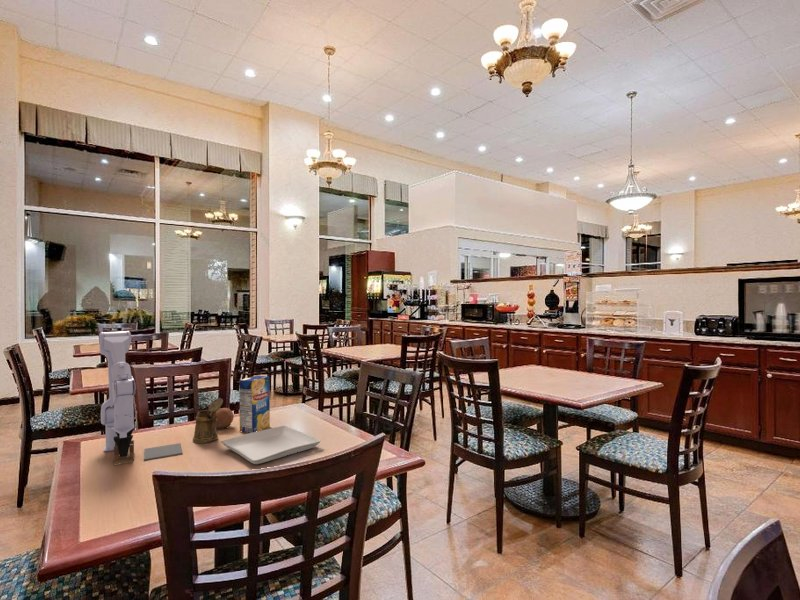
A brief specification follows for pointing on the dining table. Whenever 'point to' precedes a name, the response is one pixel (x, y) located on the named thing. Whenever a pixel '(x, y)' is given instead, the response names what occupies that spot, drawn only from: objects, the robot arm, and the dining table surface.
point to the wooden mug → (207, 423)
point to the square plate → (270, 444)
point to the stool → (124, 459)
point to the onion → (224, 418)
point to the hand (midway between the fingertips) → (124, 452)
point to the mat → (162, 451)
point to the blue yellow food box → (254, 403)
